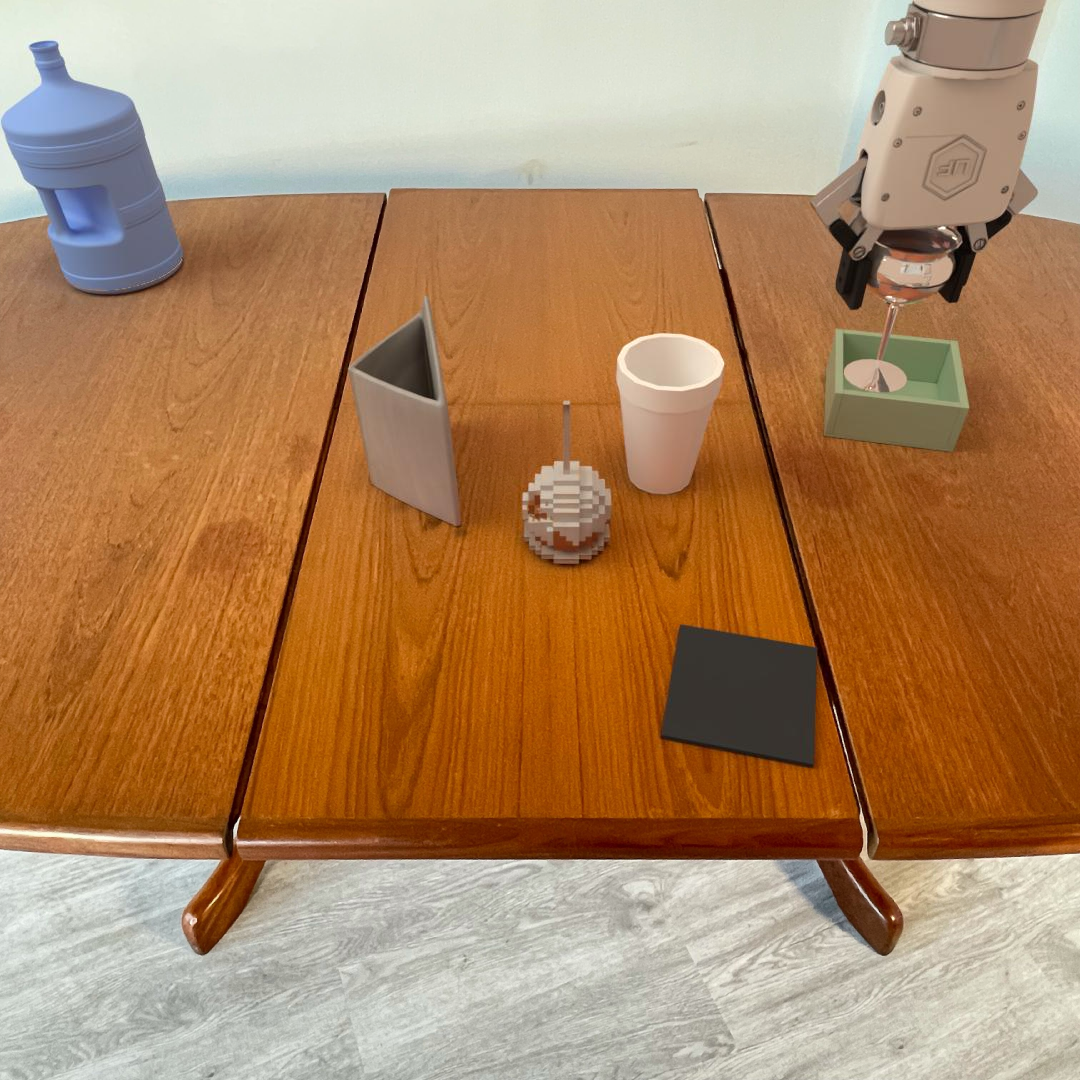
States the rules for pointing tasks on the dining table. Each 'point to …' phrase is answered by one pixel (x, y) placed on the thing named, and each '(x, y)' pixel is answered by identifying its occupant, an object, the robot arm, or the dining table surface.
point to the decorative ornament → (567, 508)
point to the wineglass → (903, 290)
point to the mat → (743, 695)
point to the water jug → (93, 180)
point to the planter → (408, 418)
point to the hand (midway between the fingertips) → (896, 296)
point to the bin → (897, 392)
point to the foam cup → (666, 406)
